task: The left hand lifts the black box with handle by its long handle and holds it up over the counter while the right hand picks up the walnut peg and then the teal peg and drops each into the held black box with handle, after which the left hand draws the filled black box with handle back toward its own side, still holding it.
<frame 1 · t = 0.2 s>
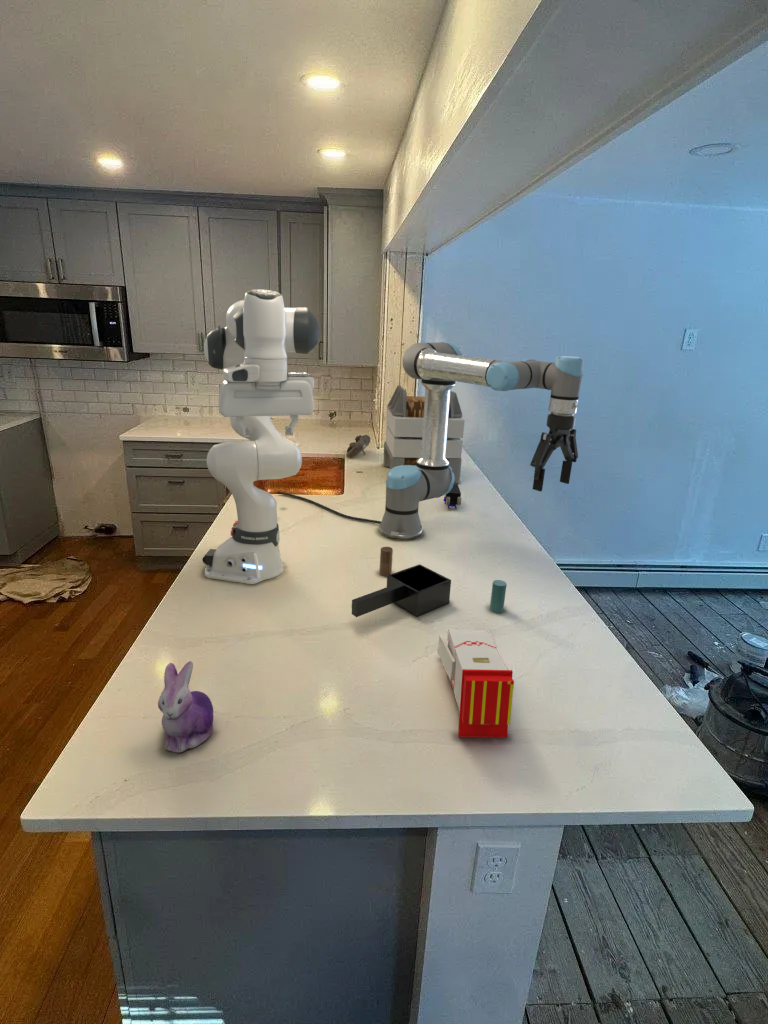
left hand: (268, 435, 125), 47 cm above the counter, fingers open, 8 cm apart
right hand: (551, 486, 166), 28 cm above the counter, fingers open, 13 cm apart
teal peg: (496, 609, 152), on the counter
figurine: (189, 736, 103), on the counter
walnut peg: (385, 573, 170), on the counter
fossil: (358, 454, 305), on the counter
toy: (469, 691, 119), on the counter
figurine character: (451, 505, 231), on the counter
black box with handle: (417, 601, 154), on the counter
white slatted crate: (419, 473, 275), on the counter
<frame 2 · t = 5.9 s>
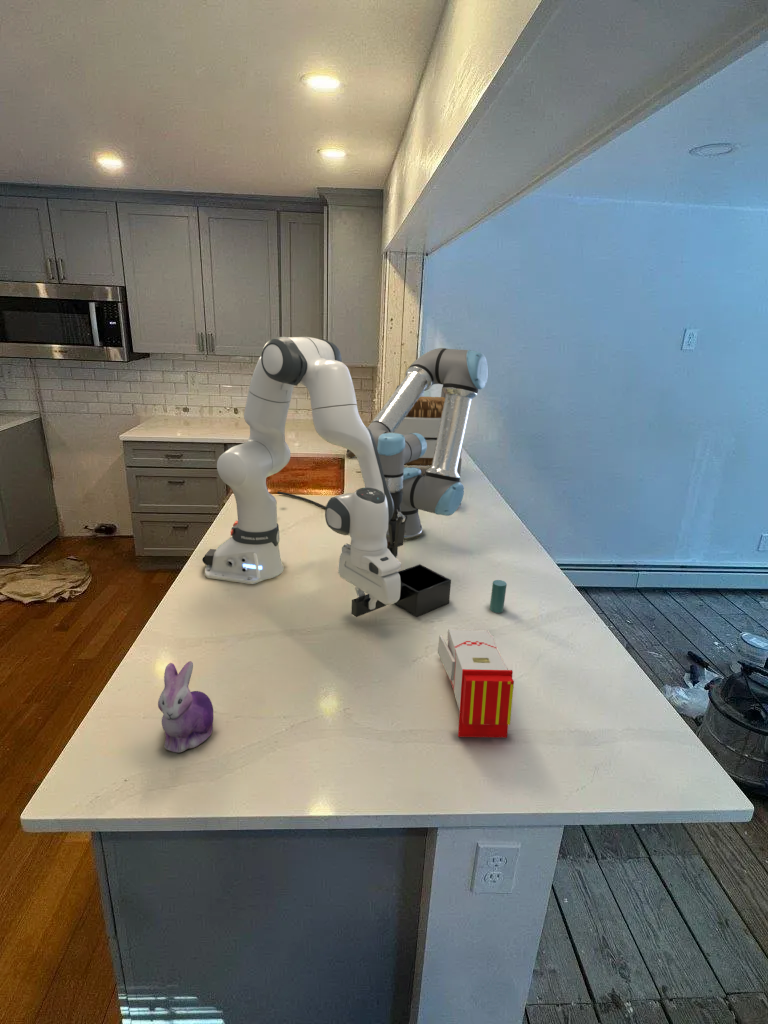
left hand: (366, 605, 142), 5 cm above the counter, fingers closed on black box with handle
right hand: (386, 562, 169), 3 cm above the counter, fingers closed on walnut peg, 3 cm apart
walnut peg: (386, 564, 169), point 3 cm above the counter, touching right hand
black box with handle: (417, 601, 154), on the counter, touching left hand
everything else where it was.
when the right hand's fingers open (20 cm above the counter, at t = 10.5 s): walnut peg drops 10 cm and tips over, resting on black box with handle.
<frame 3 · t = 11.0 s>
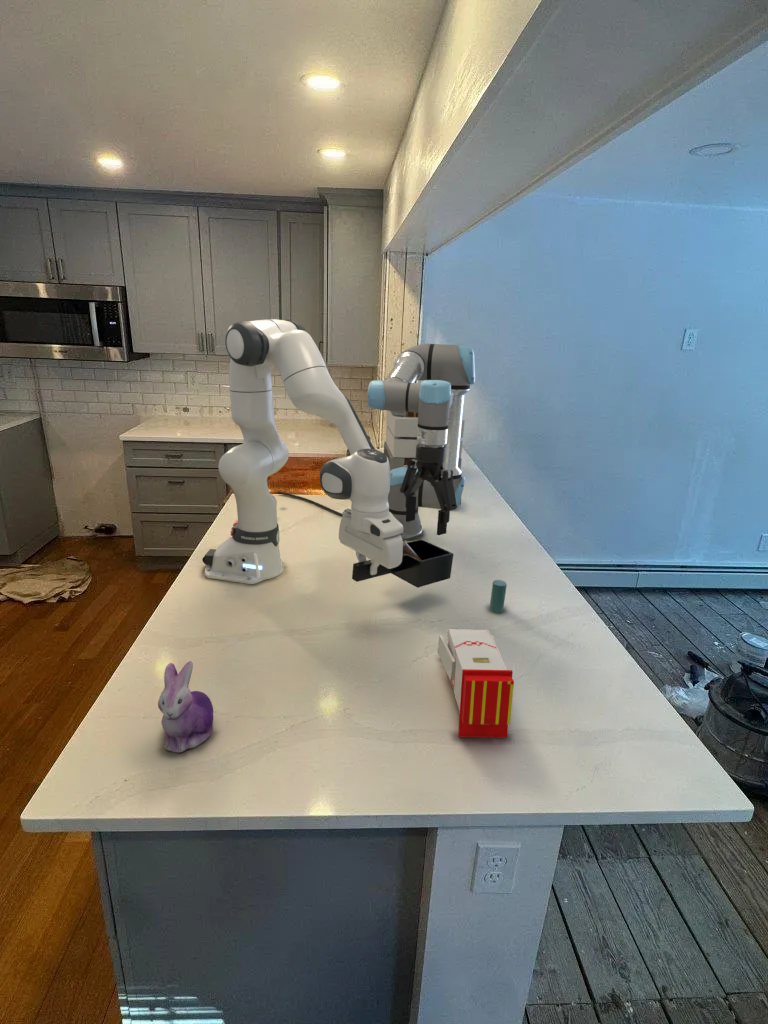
left hand: (367, 571, 139), 14 cm above the counter, fingers closed on black box with handle, 2 cm apart
right hand: (425, 527, 148), 21 cm above the counter, fingers open, 11 cm apart
walnut peg: (419, 567, 152), point 10 cm above the counter, tilted 42°, touching black box with handle
black box with handle: (418, 574, 151), point 8 cm above the counter, touching left hand, walnut peg
everything else where it was.
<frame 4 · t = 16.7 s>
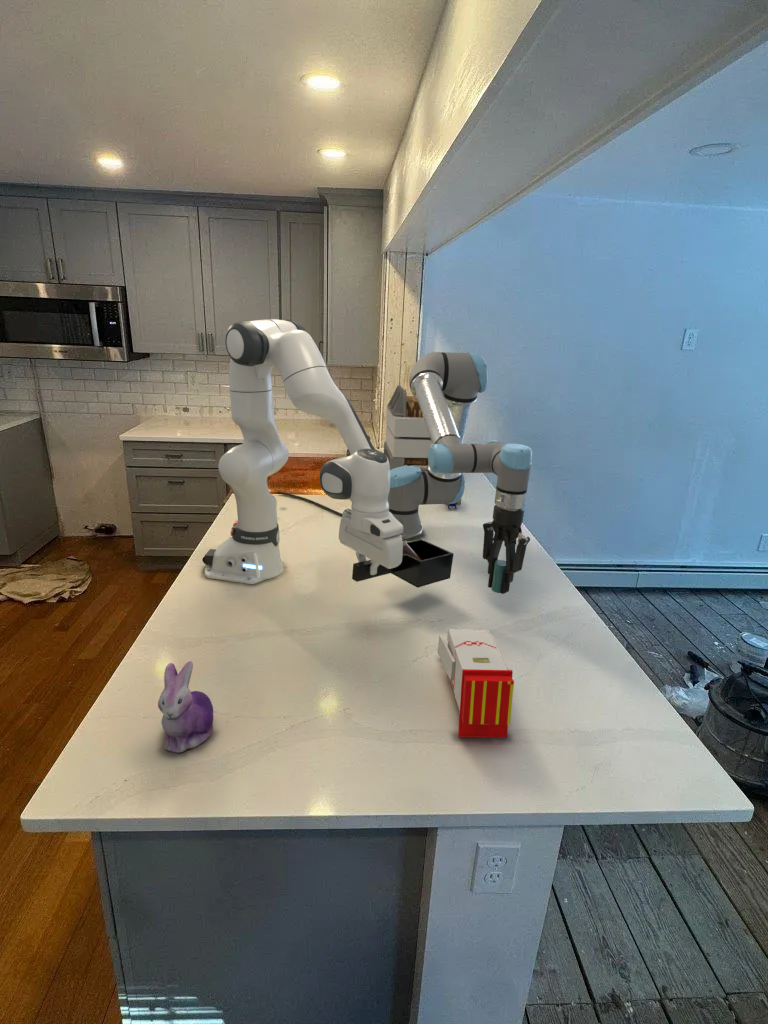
left hand: (367, 571, 139), 14 cm above the counter, fingers closed on black box with handle, 2 cm apart
right hand: (498, 588, 150), 6 cm above the counter, fingers closed on teal peg, 3 cm apart
teal peg: (498, 590, 150), point 6 cm above the counter, touching right hand
black box with handle: (418, 574, 151), point 8 cm above the counter, touching left hand, walnut peg
everything else where it was.
when the right hand's fingers open (20 cm above the counter, at t = 20.7 s): teal peg drops 9 cm and tips over, resting on black box with handle, walnut peg.
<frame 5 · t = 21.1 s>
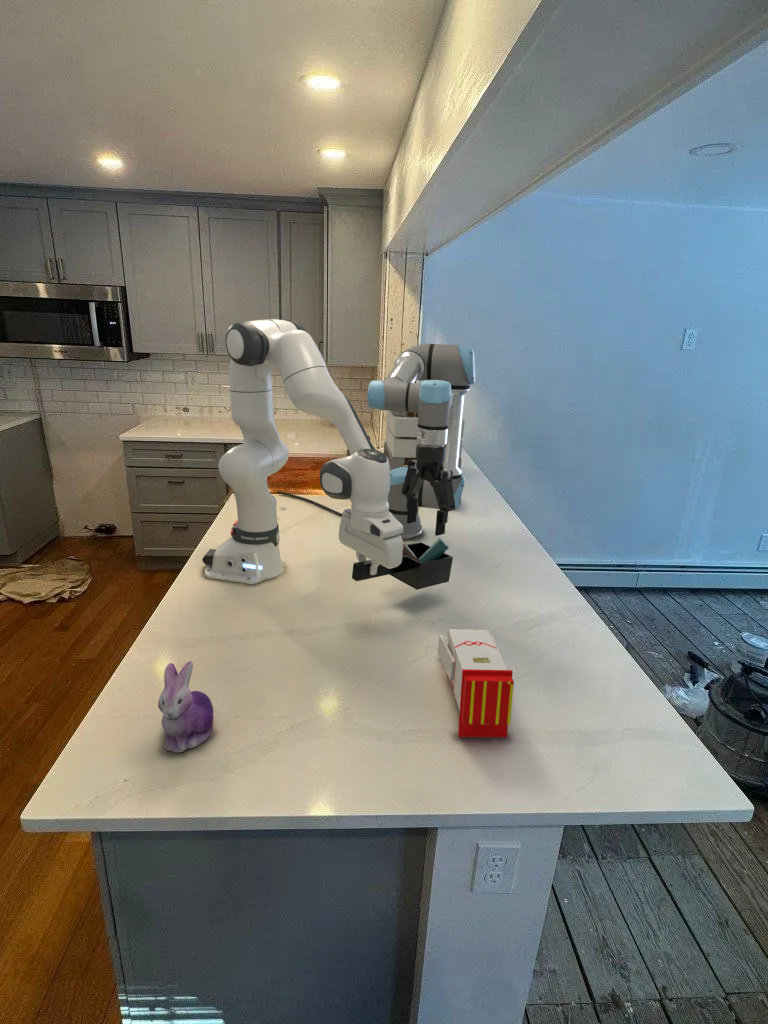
left hand: (367, 571, 139), 14 cm above the counter, fingers closed on black box with handle, 2 cm apart
right hand: (425, 528, 148), 21 cm above the counter, fingers open, 10 cm apart
teal peg: (423, 563, 151), point 11 cm above the counter, tilted 43°, touching black box with handle, walnut peg
walnut peg: (418, 569, 152), point 9 cm above the counter, tilted 40°, touching black box with handle, teal peg
black box with handle: (417, 577, 152), point 7 cm above the counter, tilted 6°, touching left hand, teal peg, walnut peg
everything else where it was.
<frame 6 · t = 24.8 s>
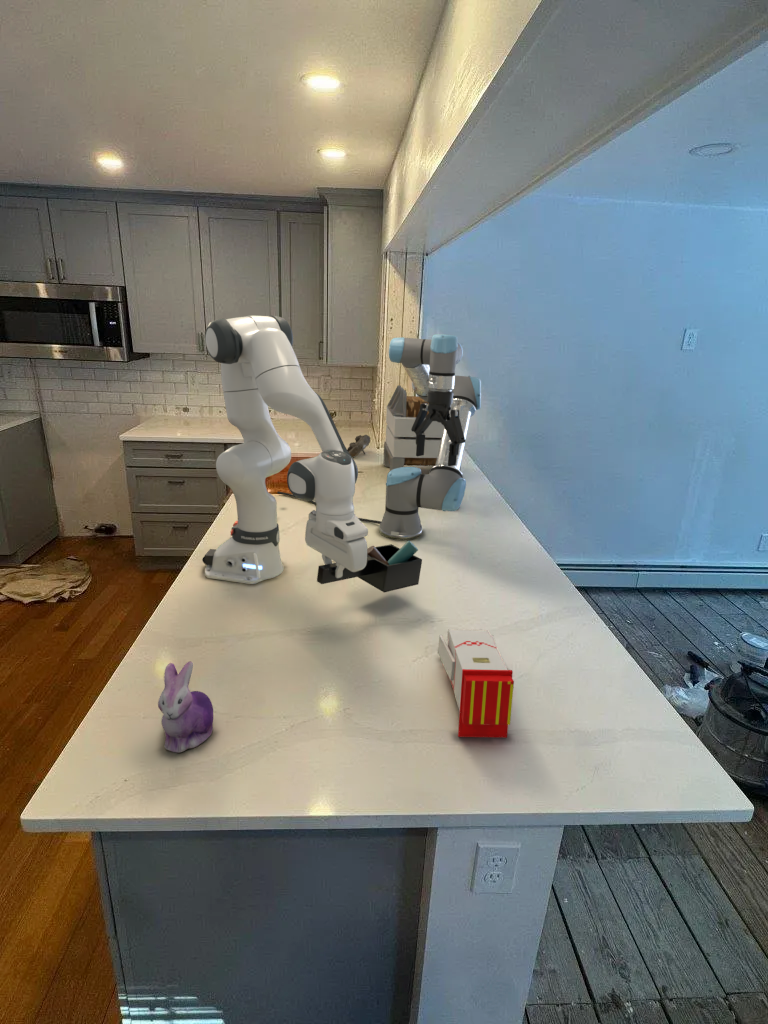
left hand: (333, 574, 137), 14 cm above the counter, fingers closed on black box with handle
right hand: (435, 460, 173), 32 cm above the counter, fingers open, 13 cm apart
teal peg: (392, 566, 149), point 11 cm above the counter, tilted 43°, touching black box with handle, walnut peg
walnut peg: (387, 572, 150), point 9 cm above the counter, tilted 40°, touching black box with handle, teal peg
black box with handle: (386, 579, 150), point 7 cm above the counter, tilted 7°, touching left hand, teal peg, walnut peg
everything else where it was.
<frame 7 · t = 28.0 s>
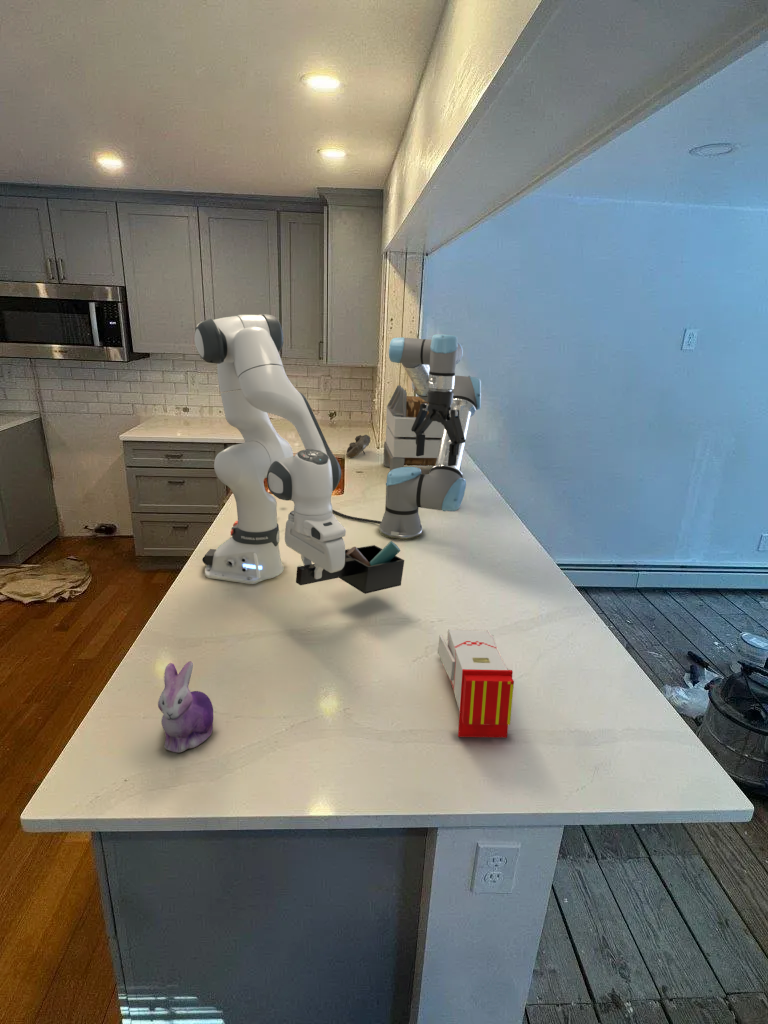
left hand: (313, 575, 135), 14 cm above the counter, fingers closed on black box with handle
right hand: (435, 460, 173), 32 cm above the counter, fingers open, 13 cm apart
teal peg: (374, 567, 148), point 11 cm above the counter, tilted 43°, touching black box with handle, walnut peg
walnut peg: (369, 573, 148), point 9 cm above the counter, tilted 40°, touching black box with handle, teal peg
black box with handle: (368, 580, 148), point 7 cm above the counter, tilted 6°, touching left hand, teal peg, walnut peg
everything else where it was.
at the end: walnut peg inside the target area on the black box with handle (0.8 cm from its centre), point 1.8 cm above the black box with handle's base; teal peg inside the target area on the black box with handle (1.6 cm from its centre), point 3.6 cm above the black box with handle's base; the left hand is holding black box with handle; the right hand is holding nothing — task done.
